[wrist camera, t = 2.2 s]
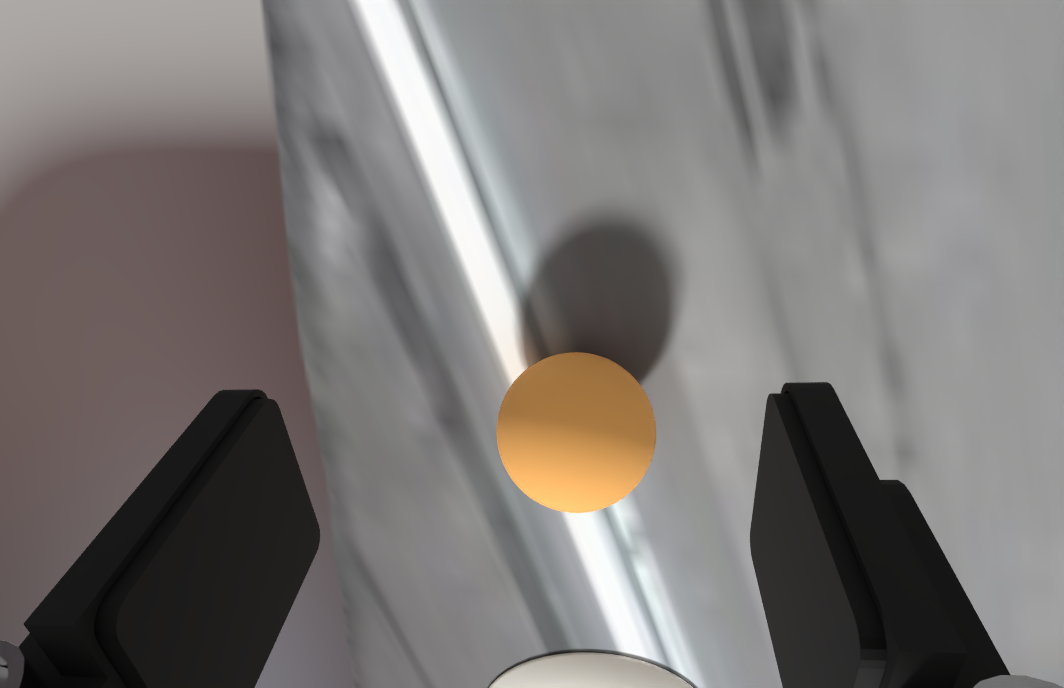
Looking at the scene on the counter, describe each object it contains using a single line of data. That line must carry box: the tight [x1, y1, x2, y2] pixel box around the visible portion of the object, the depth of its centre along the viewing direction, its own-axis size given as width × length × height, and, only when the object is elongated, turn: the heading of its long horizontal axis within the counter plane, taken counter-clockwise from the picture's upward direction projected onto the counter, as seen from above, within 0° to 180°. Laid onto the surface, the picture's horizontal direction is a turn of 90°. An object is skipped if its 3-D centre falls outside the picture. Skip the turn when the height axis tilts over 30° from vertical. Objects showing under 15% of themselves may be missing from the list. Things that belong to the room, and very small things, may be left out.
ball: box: [497, 352, 656, 513], centre depth 26 cm, size 6×6×6 cm
